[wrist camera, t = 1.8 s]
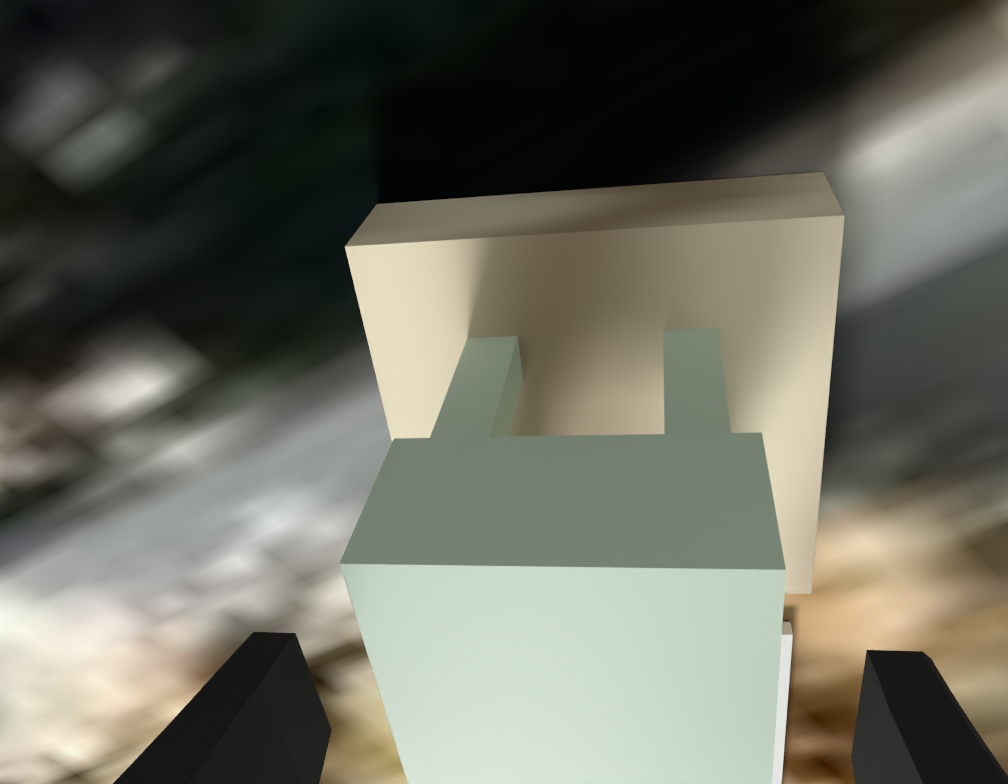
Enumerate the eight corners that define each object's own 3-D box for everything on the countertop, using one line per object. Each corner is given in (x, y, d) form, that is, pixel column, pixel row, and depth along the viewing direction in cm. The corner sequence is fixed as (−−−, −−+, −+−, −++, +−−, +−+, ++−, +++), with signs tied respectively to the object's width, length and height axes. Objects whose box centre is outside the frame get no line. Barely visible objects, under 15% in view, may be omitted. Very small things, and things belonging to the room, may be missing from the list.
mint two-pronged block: (740, 308, 14) (786, 569, 9) (734, 537, 17) (768, 837, 12) (445, 320, 15) (339, 563, 10) (484, 535, 18) (416, 811, 13)
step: (823, 171, 15) (844, 215, 13) (797, 526, 19) (811, 593, 17) (376, 203, 16) (344, 246, 14) (445, 525, 20) (427, 586, 19)
